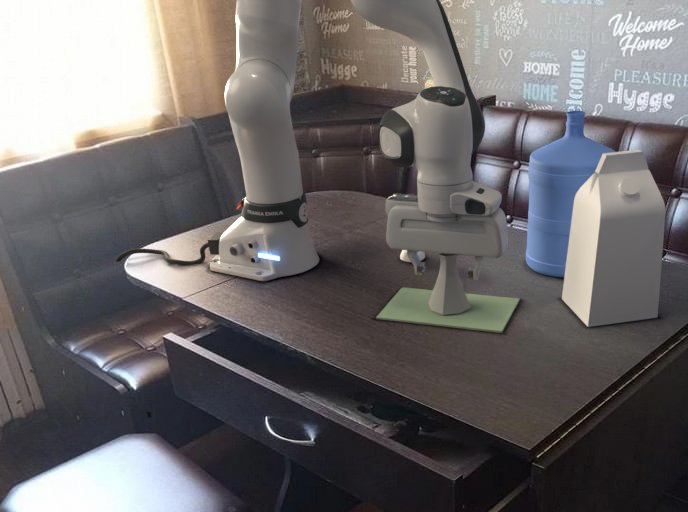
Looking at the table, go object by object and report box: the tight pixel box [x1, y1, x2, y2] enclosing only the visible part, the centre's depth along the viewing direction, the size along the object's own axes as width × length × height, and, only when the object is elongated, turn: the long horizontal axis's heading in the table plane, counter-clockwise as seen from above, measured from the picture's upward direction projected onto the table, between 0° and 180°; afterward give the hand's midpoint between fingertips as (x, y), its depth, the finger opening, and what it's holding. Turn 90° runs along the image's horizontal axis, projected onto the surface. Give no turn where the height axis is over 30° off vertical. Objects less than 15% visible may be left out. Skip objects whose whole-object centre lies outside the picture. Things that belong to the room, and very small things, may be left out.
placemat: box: [375, 286, 521, 334], centre depth 134 cm, size 22×13×1 cm, turn 69°
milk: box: [561, 149, 666, 328], centre depth 124 cm, size 12×12×26 cm
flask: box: [428, 253, 471, 315], centre depth 131 cm, size 7×7×10 cm
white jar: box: [399, 250, 426, 263], centre depth 154 cm, size 5×3×5 cm
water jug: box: [525, 110, 616, 279], centre depth 141 cm, size 16×16×28 cm
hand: (446, 276), depth 130 cm, fingers open, 8 cm apart
